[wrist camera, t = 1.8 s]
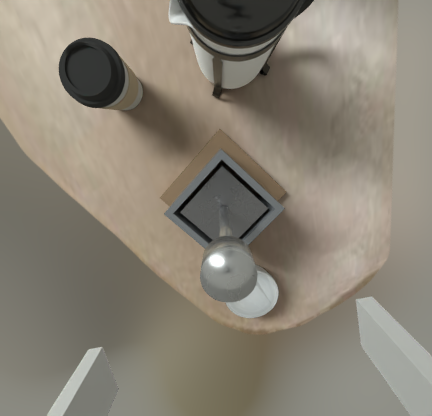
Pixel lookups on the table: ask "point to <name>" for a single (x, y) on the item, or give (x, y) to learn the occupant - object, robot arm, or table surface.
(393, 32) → the table surface
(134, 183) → the table surface
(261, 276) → the ramekin
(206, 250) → the plunger
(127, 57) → the table surface
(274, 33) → the coffee press
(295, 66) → the table surface
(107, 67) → the coffee cup
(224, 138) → the square grey bin
